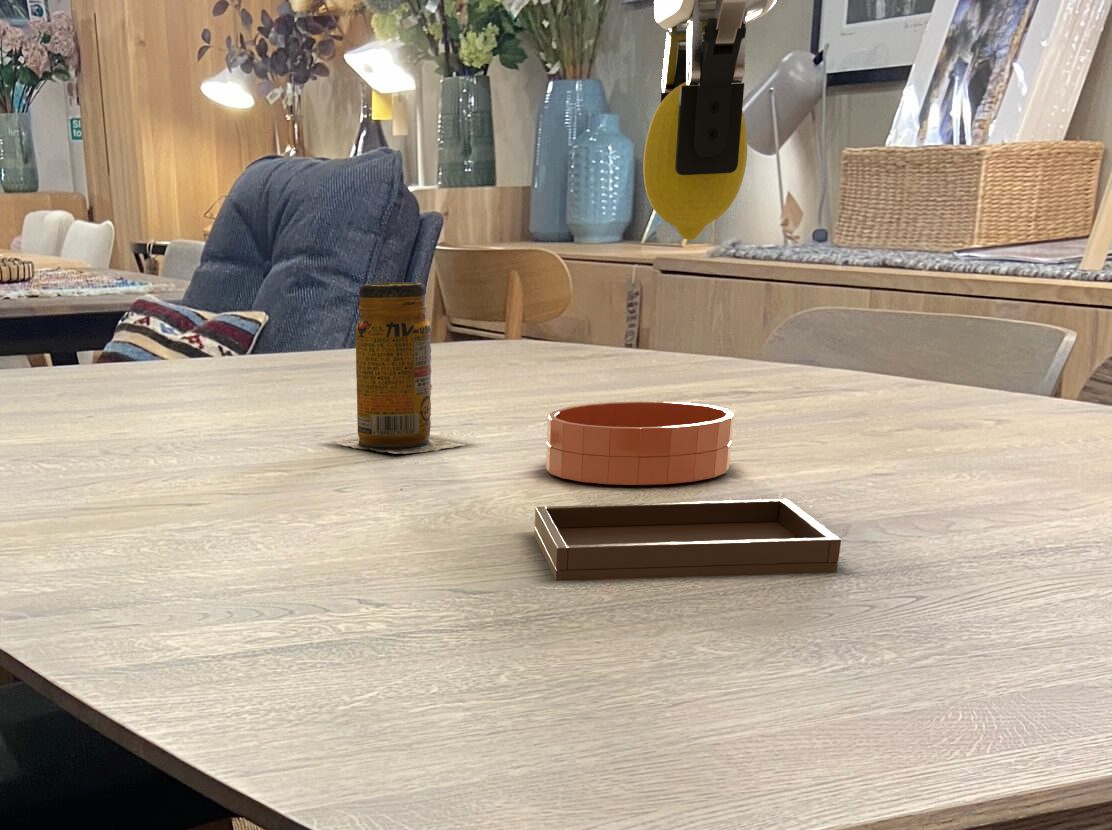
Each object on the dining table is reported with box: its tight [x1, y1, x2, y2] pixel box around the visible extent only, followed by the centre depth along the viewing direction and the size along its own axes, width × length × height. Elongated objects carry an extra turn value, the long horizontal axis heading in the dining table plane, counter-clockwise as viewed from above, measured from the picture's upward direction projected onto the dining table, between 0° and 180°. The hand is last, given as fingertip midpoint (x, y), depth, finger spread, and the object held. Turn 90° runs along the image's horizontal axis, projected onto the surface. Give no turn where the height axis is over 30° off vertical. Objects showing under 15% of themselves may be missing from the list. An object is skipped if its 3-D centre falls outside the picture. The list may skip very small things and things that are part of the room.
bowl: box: [545, 401, 735, 486], centre depth 104 cm, size 13×13×4 cm
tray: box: [533, 498, 842, 582], centre depth 82 cm, size 15×11×2 cm
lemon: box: [642, 82, 748, 241], centre depth 79 cm, size 6×6×8 cm
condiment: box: [335, 281, 466, 455], centre depth 116 cm, size 7×8×12 cm
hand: (694, 170), depth 79 cm, fingers closed on lemon, 5 cm apart
